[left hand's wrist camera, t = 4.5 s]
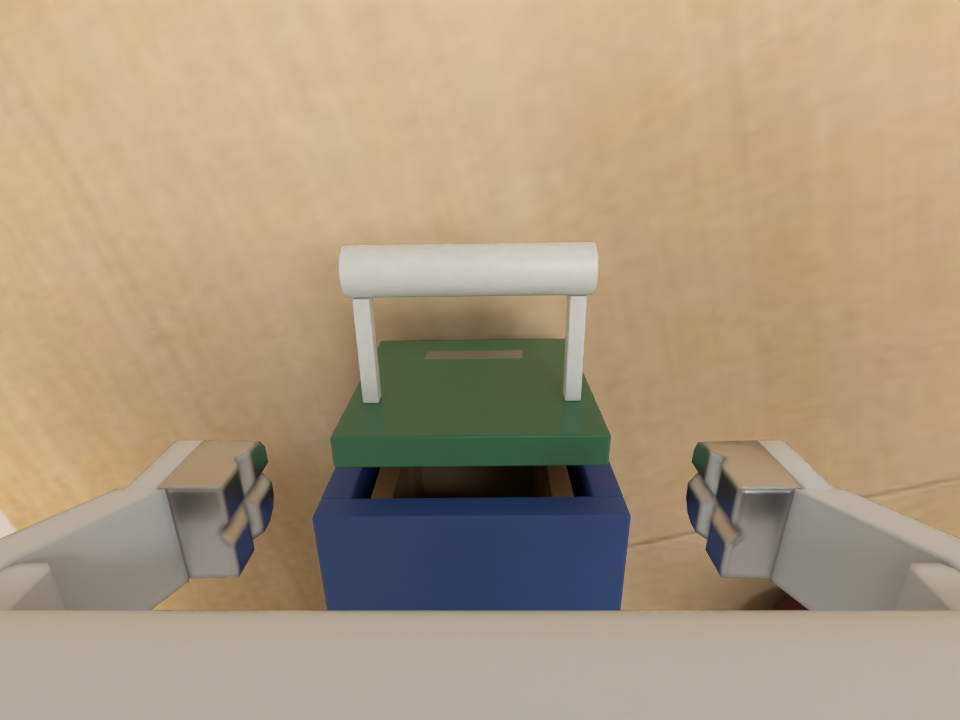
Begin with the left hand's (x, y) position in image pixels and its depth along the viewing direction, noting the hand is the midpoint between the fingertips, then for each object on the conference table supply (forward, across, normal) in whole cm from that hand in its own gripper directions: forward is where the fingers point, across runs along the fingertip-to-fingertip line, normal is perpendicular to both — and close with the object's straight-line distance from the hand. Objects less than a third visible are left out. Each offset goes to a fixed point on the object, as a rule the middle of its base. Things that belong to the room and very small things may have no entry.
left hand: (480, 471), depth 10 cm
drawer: (+16, 0, +10) cm, 19 cm away
